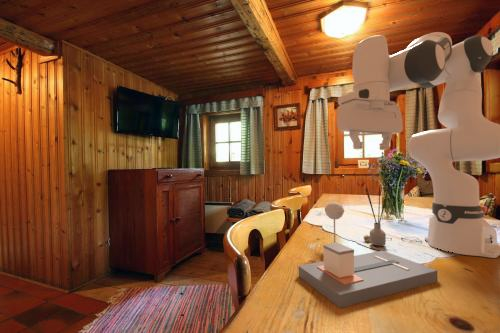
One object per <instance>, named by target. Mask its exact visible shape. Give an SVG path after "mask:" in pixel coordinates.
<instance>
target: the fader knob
mask: <svg viewBox="0 0 500 333" xmlns="http://www.w3.org/2000/svg"><path fill="white" fill-rule="evenodd" d="M354 256H355V249H353V248H351V247H348V246H347V245H344V244H341V243H338V242H335V243H334V242H333V243H329V244H328V243H327V244H323V261H324V269H325V270H327V271H329V272H330V273H332V274H334V275H335V276H337V277H339V278H341V277H346V276H351V275H354Z"/></svg>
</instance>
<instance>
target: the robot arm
mask: <svg viewBox="0 0 500 333" xmlns="http://www.w3.org/2000/svg"><path fill="white" fill-rule="evenodd" d="M387 41H388V40H387V38H386V36H385V35H384V34H383V35H382V34H381V35H380V34H377V35H373V36H372V35H371V36H369V37H367V38H364V39H363V40H361V41H360V42H358V43H357V44H356V45H355V47H354V50H353V55H352V70H351V71H352V77H353V85H352V91H350V92H347V93H346V94H343V95H340V96H338V98H337V104H338V107H337V111H336V126H337V127H336V128H337V129H338V130H339V132H346V133H347V132H349V134H348V135H349V137H350V140H351V141H352V143H353V145H352V148H353V150H362V149H363V148H364V145H363V144H364V142H363V141H361V139H360V133H363V134H377V135H379V134H380V135H381V138H382V141H381V143H379V150H381V151H387V150H389V149H390V143H391V141H392V139H393V135H397V134H401V133H402V131H403V130H404V125H403V116H402V111H401V109H400V106H399V105H398V104H397V103H396V102H395V101H393V100H390V99H391V98H390V97H391V96H390V95H391V92H395V91H399V90H402V89H405V88H408V87H411V86H415V85H419V86H420V87H422V88H423V89H431V88H435V87H437V86H438V85H441V84H444V83H446V85H445V87H444V90H443V92H442V95H441V98H440V102H439V108H438V112H437V113H438V114H437V119H438V122H439V123H440V124H441V125H442V126H443V127H445V128H439V129H431V130H426V131H422V132H419V133H414V134H413V135H412V136H411V137H410V138H409V140H408V142H407V146H406V147H407V153H408V154H409V156H410V157H411V159H413V160H414V161H416V162H417V163H420V164H421V165H422V166H423V167H424V169H426V171H427V172H428V174H429V176H430V179H431V183H432V190H433V202H432V204H431V205H432V206H431V209H432V210H431V212H432V214H433V215H432V216H431V217H430V218H429V221H428V230H427V231H428V232H427V236H425V237H424V240H426V241H425V242H427V243H428V245H429V246H430V247H432V248H435V249H437V248H438V250H440V249H441V250H440V251H443V252H444V251H445V252H448V251H449V252H448V253H452V252H453V254H457V255H466V256H472V257H473V256H474V257H475V256H476V257H483V258H491V259H496V258H498V257H499V256H500V243H499V242H498V233H497V230H496V228H495V227H493V226H492V225H491V224H490V223H489V222H487V221H486V220H485V219H484V217H485V216H484V213H487V212H488V208H487V206H486V205H481V204H480V183H479V181H478V179H476V178H475V177H474V176H472V175H470V174H468V173H465V172H463V171H461V170H458V169H455V167H454V165H453V163H454V162H478V161H489V160H495V159H499V158H500V124H499V123H495V122H493V121H492V120H489V119H488V118H487V117H485V116H484V115H483V110H482V102H483V100H482V99H483V92H482V85H481V83H480V80H479V78H478V77H477V73H483V72H484V71H485V69H486V66H487V65H489V63H490V62H491V60H492V57H493V55H494V46H493V44H492V42H491V41H490V39H488V37H486V36H485V35H482V34H476V35H472V36H470V37H467V38H465V39H464V40H463V41H461V42H460V41H459V43H456V44H454V45H453V41H452V38H451V36H450V35H449V34H447V33H445V32H441V31H436V32H435V31H434V32H430V33H426V34H424V35H422V36H420V37H418V38H416V39H414V40H413V41H412V42H411V43H409V45H408V46H406V48H405V49H404V50H400V51H399V52H397V53H394V54H392V55H391V54H390V53H389V47H388V42H387Z"/></svg>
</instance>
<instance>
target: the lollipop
mask: <svg viewBox="0 0 500 333" xmlns="http://www.w3.org/2000/svg"><path fill="white" fill-rule="evenodd" d="M324 212H325V215H326V216H327V217H328V218H329V219H331V220H333V243H336V220H339V219H341V218H342V217H343V215H344V213H345V209H344V206H343V205H342V204H341V203H340V202H338V201H329V202H328V203H327V204H326V206H325V207H324Z"/></svg>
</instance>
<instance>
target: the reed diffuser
mask: <svg viewBox="0 0 500 333" xmlns="http://www.w3.org/2000/svg"><path fill="white" fill-rule="evenodd" d="M365 187H366V188H365V192H366V195H367V198H368V201H369V205H370V207H371V212H372V216H373V219H374V221H375V222H374V225H373V228H372V229H371V230H370V231H369V235H368V234H366V235H364V236H363V240H364V241H365V242H367V243H370V244H371V245H374V246H382V247H383V246H386V238H387V237H386V232H385V231H384V230H382V227H381V226H382V224H381V220H382V217H383V211H384V209H385V204H386V200H387V198H388V192H389V188H387V189H386V193H385V198H384V201H383V205H382V210H381V212H378V213H377V214H378V215H377V216H378V217H377V218H378V219H377V220H376V215H375V211H374V208H373V205H372V204H373V203H372V200H371V198H370V197H371V196H370V193H369V189H368V186H365ZM380 200H381V186H378V211H380V206H381V205H380V204H381V201H380Z"/></svg>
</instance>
